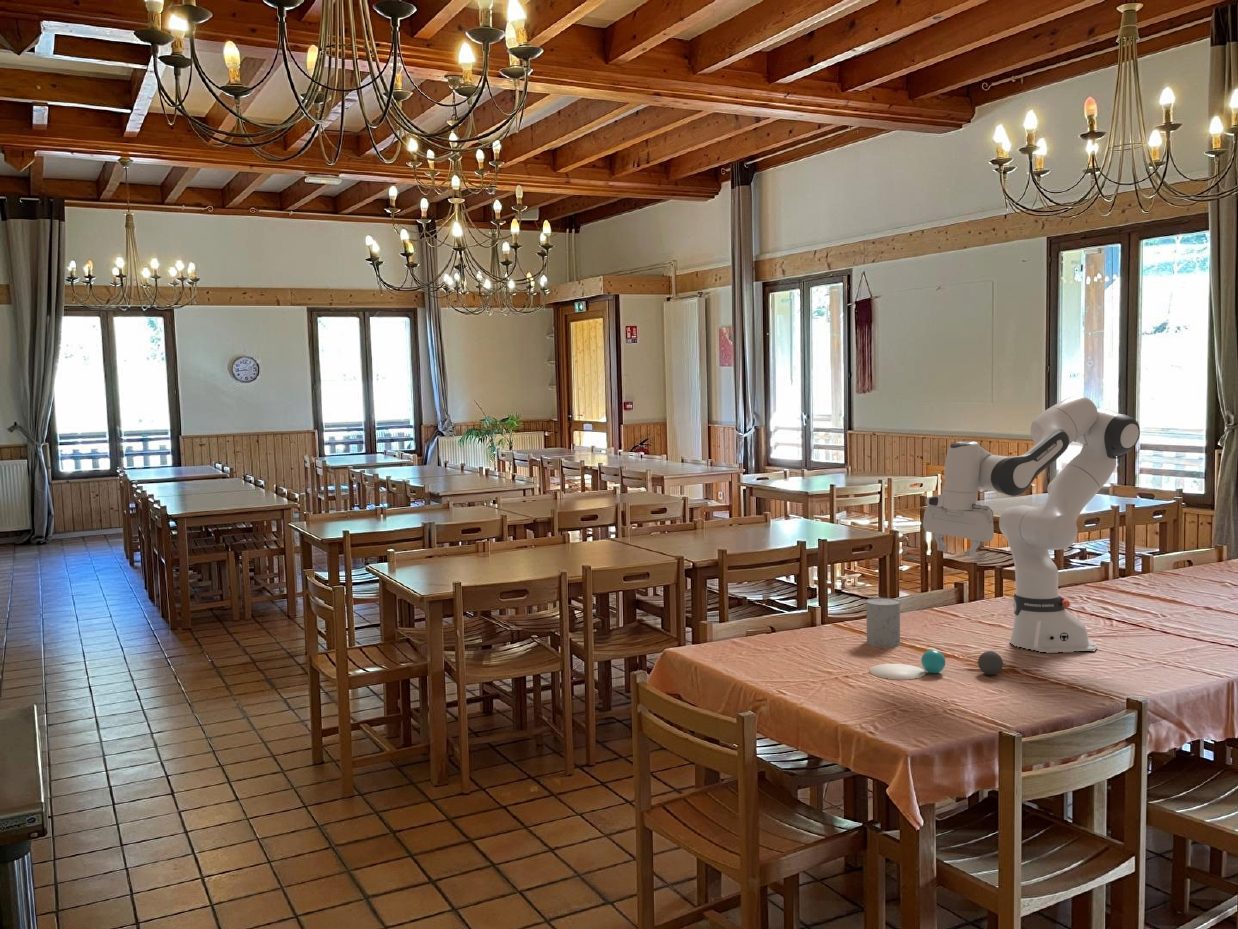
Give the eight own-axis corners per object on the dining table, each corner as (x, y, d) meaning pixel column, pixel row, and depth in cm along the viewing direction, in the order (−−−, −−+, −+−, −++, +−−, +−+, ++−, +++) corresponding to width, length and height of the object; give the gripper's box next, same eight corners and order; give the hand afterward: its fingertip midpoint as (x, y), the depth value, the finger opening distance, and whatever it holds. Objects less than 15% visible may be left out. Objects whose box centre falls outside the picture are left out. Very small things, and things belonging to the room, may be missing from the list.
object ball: (944, 670, 261) (944, 647, 260) (946, 676, 255) (946, 653, 255) (920, 669, 262) (920, 646, 262) (922, 676, 256) (922, 653, 256)
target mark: (922, 665, 266) (922, 664, 266) (927, 680, 252) (927, 679, 252) (868, 663, 269) (868, 663, 269) (870, 679, 255) (870, 678, 255)
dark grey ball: (1000, 671, 258) (1000, 648, 258) (1004, 678, 252) (1004, 655, 252) (976, 671, 259) (976, 648, 259) (979, 677, 253) (979, 654, 253)
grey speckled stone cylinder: (901, 640, 292) (901, 598, 291) (899, 648, 283) (899, 605, 282) (867, 638, 295) (867, 597, 294) (864, 646, 286) (864, 604, 285)
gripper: (1001, 506, 259) (997, 559, 260) (936, 497, 276) (932, 547, 277) (985, 507, 255) (981, 560, 256) (921, 497, 272) (917, 548, 273)
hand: (955, 553), depth 266 cm, fingers open, 8 cm apart
